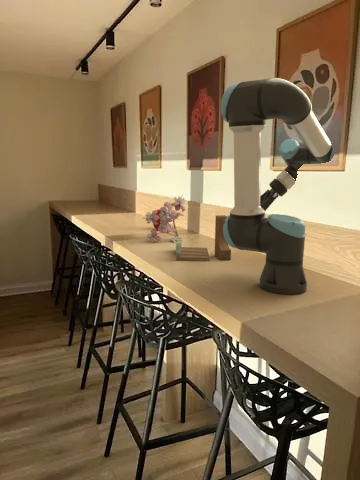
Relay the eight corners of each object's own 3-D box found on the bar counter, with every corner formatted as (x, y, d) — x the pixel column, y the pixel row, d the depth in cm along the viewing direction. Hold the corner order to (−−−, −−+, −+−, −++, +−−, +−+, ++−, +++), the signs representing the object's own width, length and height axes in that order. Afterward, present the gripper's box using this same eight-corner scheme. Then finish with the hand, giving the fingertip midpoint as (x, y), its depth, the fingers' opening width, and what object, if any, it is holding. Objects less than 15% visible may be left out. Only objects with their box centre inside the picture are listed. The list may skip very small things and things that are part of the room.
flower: (157, 232, 216) (145, 194, 202) (194, 231, 208) (185, 191, 195) (145, 254, 201) (131, 214, 187) (185, 253, 193) (174, 212, 179)
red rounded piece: (151, 228, 239) (150, 206, 236) (166, 228, 240) (166, 206, 238) (152, 231, 229) (152, 208, 226) (169, 231, 230) (169, 208, 228)
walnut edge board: (209, 261, 158) (209, 245, 157) (175, 260, 159) (175, 245, 157) (206, 250, 178) (207, 237, 177) (177, 250, 178) (177, 236, 177)
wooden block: (231, 260, 160) (232, 217, 157) (221, 260, 159) (222, 218, 156) (223, 255, 169) (225, 215, 166) (214, 255, 168) (215, 215, 165)
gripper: (296, 192, 147) (255, 230, 150) (281, 188, 171) (246, 221, 174) (283, 178, 146) (242, 217, 149) (269, 176, 170) (235, 210, 173)
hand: (244, 219), depth 162 cm, fingers open, 13 cm apart
